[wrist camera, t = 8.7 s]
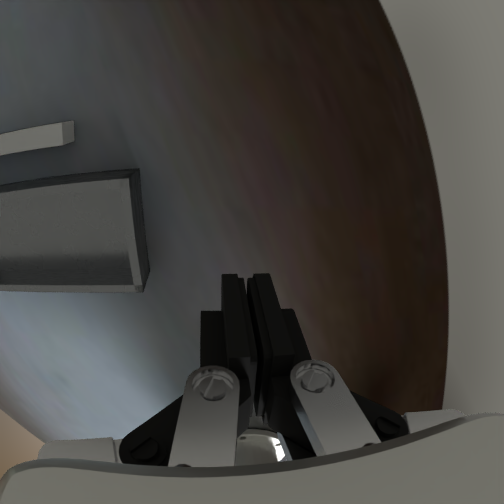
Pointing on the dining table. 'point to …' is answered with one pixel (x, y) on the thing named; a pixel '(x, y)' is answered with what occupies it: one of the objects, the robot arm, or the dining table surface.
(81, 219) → the baking tray
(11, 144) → the grey piece
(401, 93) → the dining table surface
